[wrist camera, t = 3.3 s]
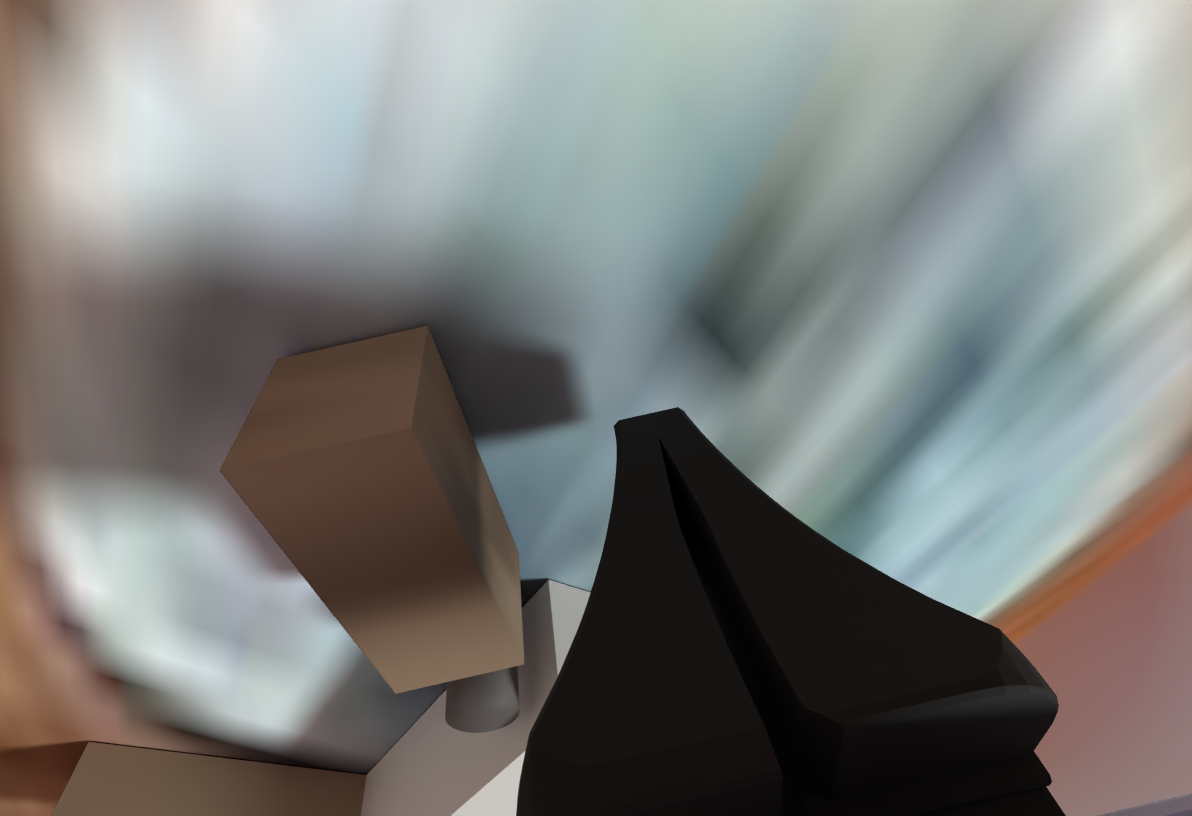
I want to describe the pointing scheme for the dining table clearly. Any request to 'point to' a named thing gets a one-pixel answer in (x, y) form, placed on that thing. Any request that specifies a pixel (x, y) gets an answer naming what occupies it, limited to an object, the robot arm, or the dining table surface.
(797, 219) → the dining table surface
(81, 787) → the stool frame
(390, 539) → the hinged leg
